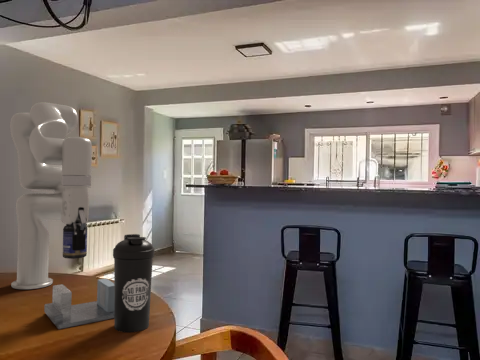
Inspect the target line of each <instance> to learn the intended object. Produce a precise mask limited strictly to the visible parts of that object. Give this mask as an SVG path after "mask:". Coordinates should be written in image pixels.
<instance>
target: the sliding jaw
mask: <svg viewBox="0 0 480 360" xmlns="http://www.w3.org/2000/svg"><path fill="white" fill-rule="evenodd" d="M96 301H97V304H98V305H99V306H100V307H102V308H103V309H104V310H105V311H107V312H113V311H114V282H113V281H111V280H109V279H108V278H100V279H97V293H96Z"/></svg>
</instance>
